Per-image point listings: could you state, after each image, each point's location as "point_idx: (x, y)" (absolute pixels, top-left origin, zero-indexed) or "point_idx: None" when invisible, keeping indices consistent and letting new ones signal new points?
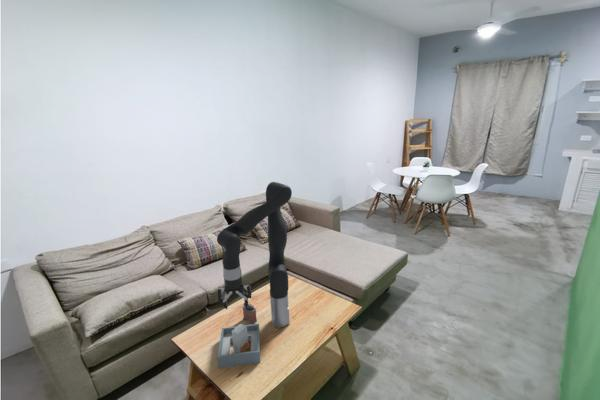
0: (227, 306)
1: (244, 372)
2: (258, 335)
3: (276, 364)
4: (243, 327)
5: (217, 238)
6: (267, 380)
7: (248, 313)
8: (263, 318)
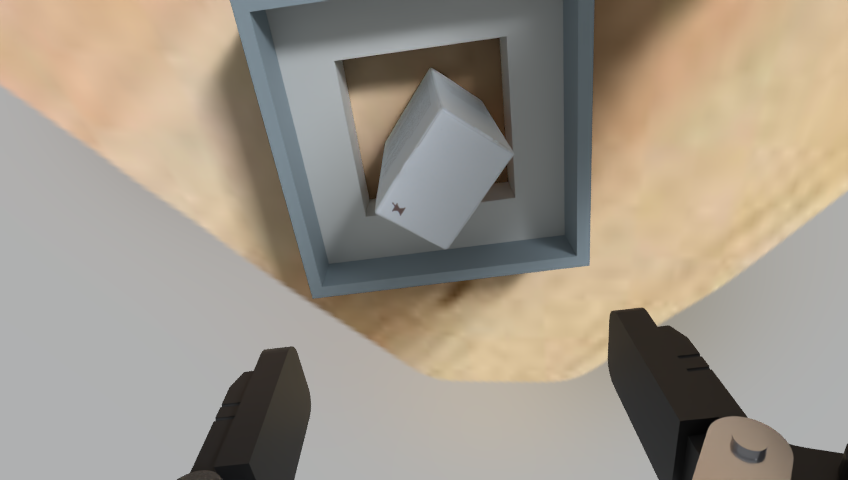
0: (294, 350)
1: (479, 282)
2: (587, 110)
3: (660, 238)
4: (482, 170)
5: None
6: (601, 324)
7: None
8: None
